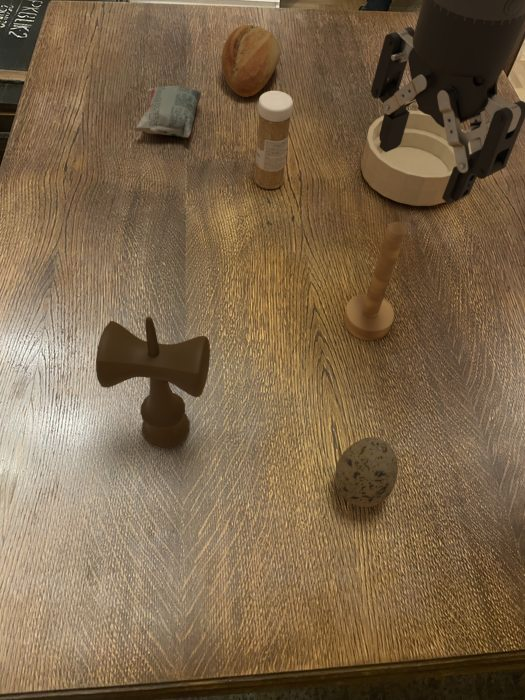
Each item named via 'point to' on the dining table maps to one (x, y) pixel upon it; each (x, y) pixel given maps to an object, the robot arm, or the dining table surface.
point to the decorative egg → (366, 472)
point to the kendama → (155, 377)
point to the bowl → (410, 162)
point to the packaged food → (170, 111)
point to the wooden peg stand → (376, 292)
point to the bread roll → (249, 59)
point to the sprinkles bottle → (272, 138)
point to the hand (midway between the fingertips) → (419, 172)
